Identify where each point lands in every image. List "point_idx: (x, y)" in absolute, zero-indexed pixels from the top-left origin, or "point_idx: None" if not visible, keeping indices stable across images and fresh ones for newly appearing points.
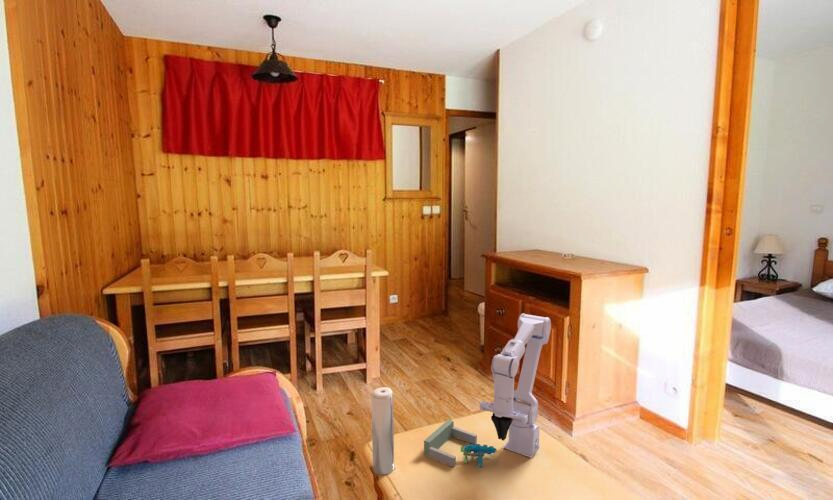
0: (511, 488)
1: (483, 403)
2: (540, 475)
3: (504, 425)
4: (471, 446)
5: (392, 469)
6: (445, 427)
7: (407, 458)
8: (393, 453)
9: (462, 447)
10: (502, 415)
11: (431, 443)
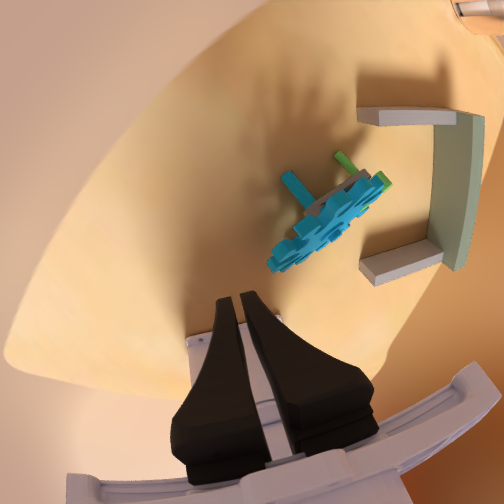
0: (122, 169)
1: (476, 418)
2: (110, 297)
3: (210, 396)
4: (360, 182)
5: (456, 6)
6: (464, 226)
7: (462, 69)
8: (492, 15)
9: (386, 184)
10: (243, 498)
11: (464, 128)
